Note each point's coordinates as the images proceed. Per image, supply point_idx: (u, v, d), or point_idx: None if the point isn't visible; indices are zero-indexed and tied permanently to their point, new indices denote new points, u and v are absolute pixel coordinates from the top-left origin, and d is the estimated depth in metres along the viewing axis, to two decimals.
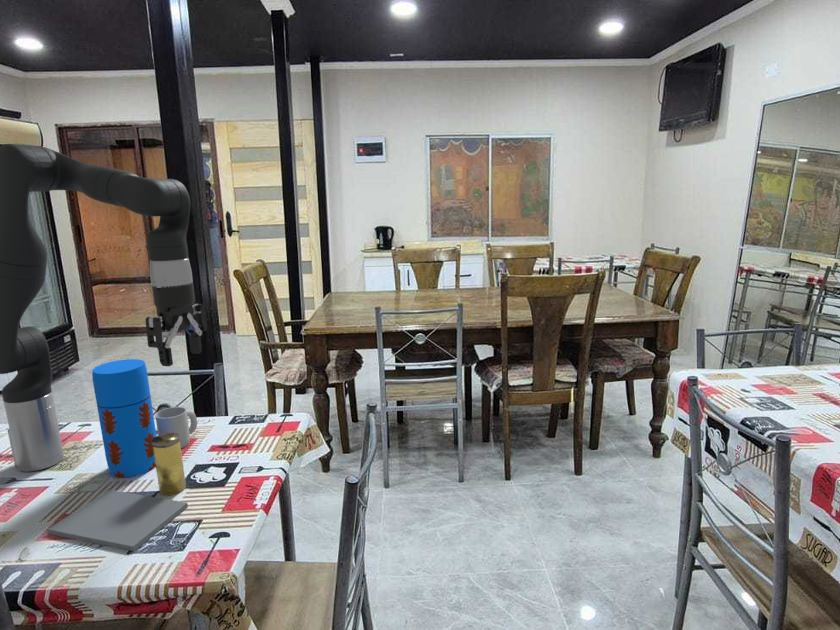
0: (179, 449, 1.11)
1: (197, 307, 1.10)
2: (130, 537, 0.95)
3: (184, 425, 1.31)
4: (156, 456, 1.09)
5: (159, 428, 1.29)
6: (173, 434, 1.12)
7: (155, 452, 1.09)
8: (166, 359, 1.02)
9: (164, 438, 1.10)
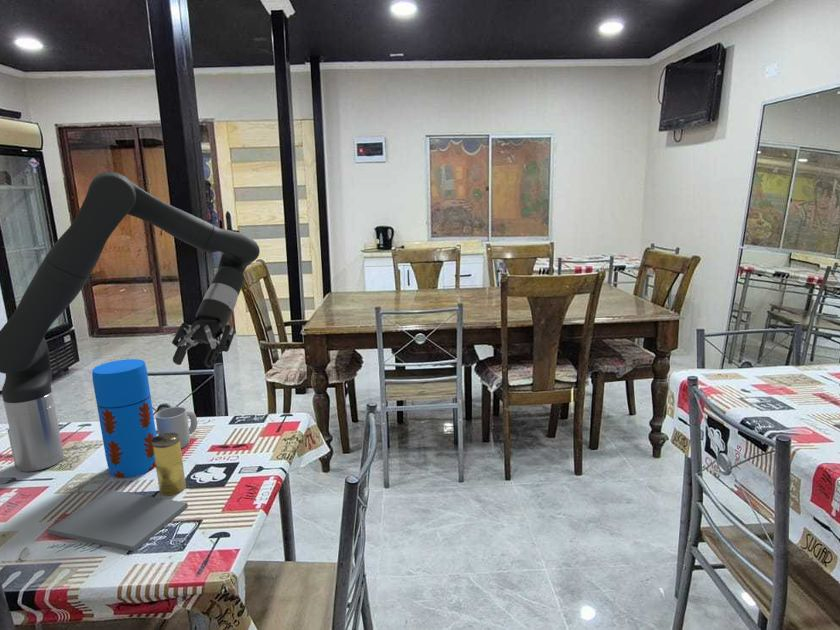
0: (179, 449, 1.11)
1: None
2: (130, 537, 0.95)
3: (184, 425, 1.31)
4: (156, 456, 1.09)
5: (159, 428, 1.29)
6: (173, 434, 1.12)
7: (155, 452, 1.09)
8: None
9: (164, 438, 1.10)
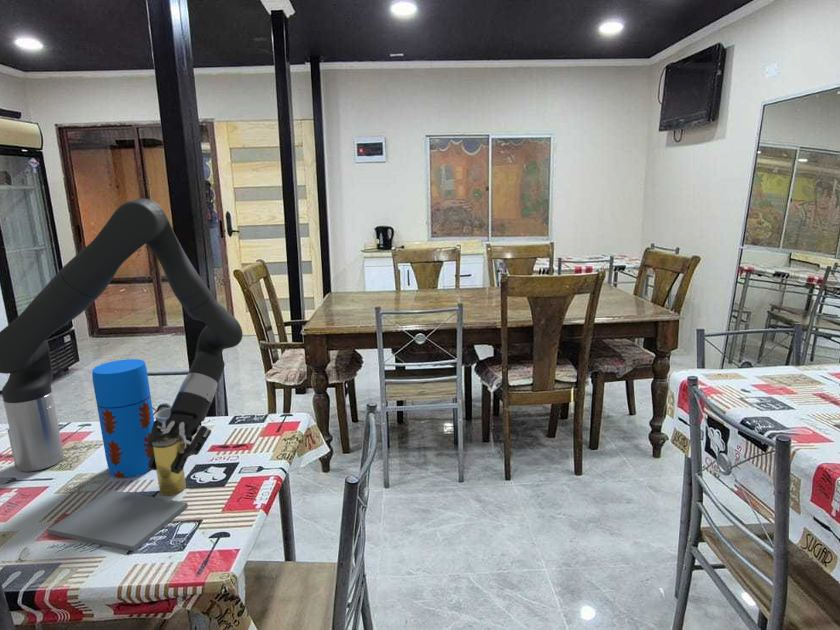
0: None
1: None
2: (130, 537, 0.95)
3: None
4: (156, 456, 1.09)
5: None
6: (173, 434, 1.12)
7: (155, 452, 1.09)
8: None
9: (164, 438, 1.10)
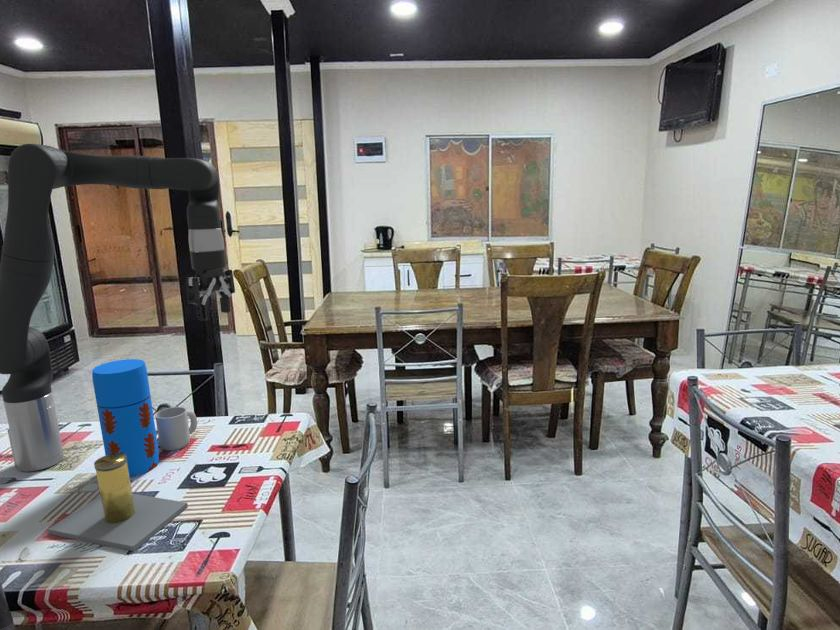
0: (126, 472, 1.00)
1: (227, 272, 1.27)
2: (130, 537, 0.95)
3: (184, 425, 1.31)
4: (99, 480, 0.98)
5: (159, 428, 1.29)
6: (120, 455, 1.01)
7: (98, 476, 0.98)
8: (202, 314, 1.19)
9: (109, 460, 0.99)
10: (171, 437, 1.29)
